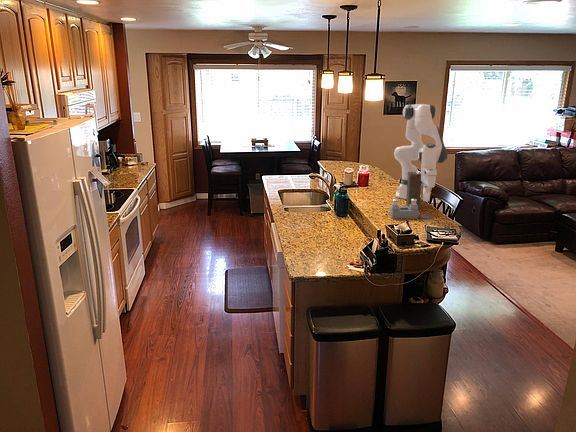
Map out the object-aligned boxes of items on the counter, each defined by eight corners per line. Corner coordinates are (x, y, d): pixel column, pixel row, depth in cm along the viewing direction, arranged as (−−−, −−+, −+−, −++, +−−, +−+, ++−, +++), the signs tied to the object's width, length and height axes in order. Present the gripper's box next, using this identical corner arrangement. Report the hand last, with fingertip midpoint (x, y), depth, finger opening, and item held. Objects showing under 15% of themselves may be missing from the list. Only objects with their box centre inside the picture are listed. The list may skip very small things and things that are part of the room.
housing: (389, 214, 306) (389, 203, 304) (415, 213, 305) (415, 202, 303) (392, 218, 296) (392, 207, 294) (418, 218, 296) (419, 207, 294)
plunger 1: (391, 207, 301) (392, 199, 300) (397, 207, 301) (397, 198, 300) (392, 209, 298) (393, 200, 296) (398, 209, 298) (398, 200, 296)
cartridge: (421, 199, 297) (422, 184, 294) (428, 199, 296) (429, 184, 294) (423, 201, 292) (424, 185, 289) (430, 201, 292) (431, 185, 289)
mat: (417, 215, 302) (417, 214, 301) (429, 215, 301) (429, 214, 301) (420, 219, 294) (420, 218, 294) (432, 219, 294) (432, 218, 294)
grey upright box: (420, 210, 313) (422, 174, 306) (407, 210, 314) (409, 174, 307) (417, 203, 331) (419, 169, 324) (405, 202, 332) (407, 168, 325)
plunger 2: (410, 207, 301) (410, 198, 299) (415, 207, 301) (416, 198, 299) (411, 208, 298) (411, 200, 296) (416, 208, 297) (417, 200, 296)
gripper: (419, 167, 299) (417, 187, 303) (427, 173, 279) (425, 195, 283) (428, 166, 299) (427, 187, 302) (437, 173, 279) (436, 195, 283)
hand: (426, 191), depth 293 cm, fingers closed on cartridge, 4 cm apart
